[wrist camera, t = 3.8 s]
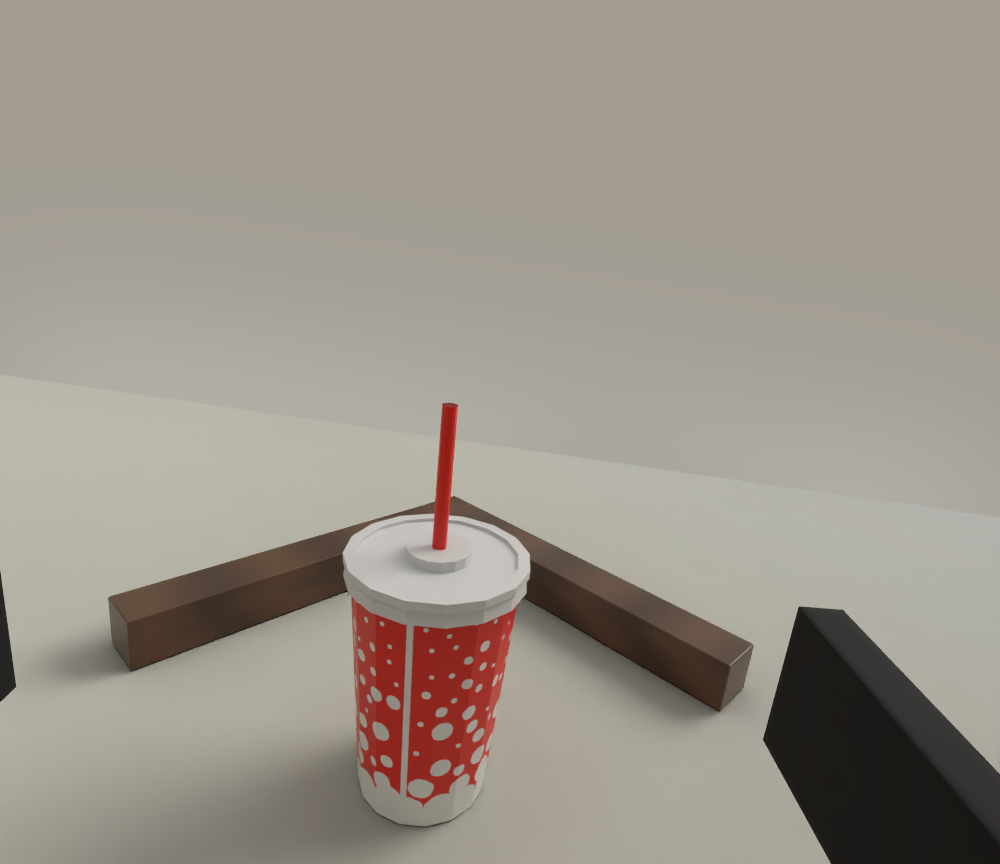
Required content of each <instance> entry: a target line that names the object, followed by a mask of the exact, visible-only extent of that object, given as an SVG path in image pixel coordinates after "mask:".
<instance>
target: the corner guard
mask: <svg viewBox="0 0 1000 864" xmlns="http://www.w3.org/2000/svg"><path fill="white" fill-rule="evenodd" d="M434 513H435V502H432V503H429V504H426V505H423V506H419V507H416V508H412V509H409V510H406V511H402V512H399V513H395V514H392V515H388V516H385V517H382V518H378V519H375V520H371V521H368V522H364V523H361V524H357V525H354V526H351V527H347V528H344V529H340V530H337V531H333V532H330V533H327V534H323V535H320V536H316V537H313V538H309V539H306V540H302V541H299V542H296V543H292V544H289V545H285V546H282V547H278V548H275V549H272V550H268V551H265V552H261V553H258V554H254V555H251V556H247V557H244V558H241V559H237V560H234V561H230V562H227V563H223V564H220V565H217V566H213V567H210V568H206V569H203V570H199V571H196V572H193V573H189V574H186V575H182V576H179V577H175V578H172V579H168V580H165V581H162V582H158V583H155V584H151V585H148V586H144V587H141V588H138V589H134V590H131V591H127V592H124V593H120V594H117V595H113V596H110V597H109V598H108V601H109V612H110V623H111V634H112V643H113V644H114V646H115V647H116V649H117V650H118V652H119V653H120V655H121V656H122V658H123V659H124V661H125V662H126V664H127V665H128V667H129V668H130V669H131V670H135V669H137V668H140V667H143V666H145V665H148V664H151V663H153V662H156V661H159V660H162V659H164V658H167V657H170V656H172V655H175V654H178V653H180V652H183V651H186V650H188V649H191V648H194V647H196V646H199V645H202V644H205V643H207V642H210V641H213V640H215V639H218V638H221V637H223V636H226V635H229V634H231V633H234V632H237V631H239V630H242V629H245V628H248V627H250V626H253V625H256V624H258V623H261V622H264V621H266V620H269V619H272V618H274V617H277V616H280V615H282V614H285V613H288V612H291V611H293V610H296V609H299V608H301V607H304V606H307V605H309V604H312V603H315V602H317V601H320V600H323V599H326V598H328V597H331V596H334V595H336V594H339V593H342V592H344V591H347V587H346V584H345V580H344V576H343V573H344V569H345V567H344V564H343V551H344V549H345V548H346V546H347V544H348V542H349V540H350V539H351V537H352V536H353V535H354V534H356V533H358V532H359V531H361V530H363V529H364V528H366V527H367V526H369V525H371V524H372V523H376V522H379V521H383V520H387V519H391V518H394V517H398V516H405V515H420V514H434ZM449 515H451V516H461V517H467V518H470V519H474V520H477V521H481V522H484V523H488V524H491V525H494V526H496V527H498V528H500V529H501V530H503V531H505V532H507V533H509V534H510V535H512V536H514V537H516V538H517V539H518V540H519V542H520V543H521V544H522V545H523V546H524V548H525V549H526V550H527V551H528V552H529V554H530V578H529V580H528V581H527V582H526V584H527V593H526V595H525V596H524V597H525V598H527V599H529V600H530V601H532V602H534V603H535V604H537V605H539V606H541V607H542V608H544V609H546V610H547V611H549V612H551V613H553V614H554V615H556V616H558V617H559V618H561V619H563V620H564V621H566V622H568V623H570V624H571V625H573V626H575V627H576V628H578V629H580V630H582V631H583V632H585V633H587V634H588V635H590V636H592V637H593V638H595V639H597V640H599V641H600V642H602V643H604V644H605V645H607V646H609V647H611V648H612V649H614V650H616V651H617V652H619V653H621V654H622V655H624V656H626V657H628V658H629V659H631V660H633V661H634V662H636V663H638V664H640V665H641V666H643V667H645V668H646V669H648V670H650V671H652V672H653V673H655V674H657V675H658V676H660V677H662V678H663V679H665V680H667V681H669V682H670V683H672V684H674V685H675V686H677V687H679V688H681V689H682V690H684V691H686V692H687V693H689V694H691V695H692V696H694V697H696V698H698V699H699V700H701V701H703V702H704V703H706V704H708V705H710V706H711V707H713V708H715V709H716V710H718V711H721V710H722V709H723V708H724V706H725V705H726V704H727V703H728V702H729V701H730V700H731V699H732V698H733V697H734V696H735V695H736V694H737V693H738V692H739V691H740V690H741V689H742V688H743V687H744V683H745V679H746V674H747V670H748V666H749V662H750V658H751V654H752V650H753V646H754V645H753V644H752V643H750V642H748V641H746V640H744V639H742V638H740V637H738V636H736V635H734V634H732V633H729V632H727V631H725V630H723V629H721V628H719V627H717V626H715V625H713V624H711V623H709V622H707V621H705V620H703V619H701V618H699V617H697V616H695V615H693V614H691V613H689V612H687V611H685V610H683V609H681V608H679V607H677V606H675V605H673V604H671V603H669V602H667V601H665V600H663V599H661V598H659V597H657V596H655V595H653V594H651V593H649V592H647V591H645V590H643V589H641V588H639V587H637V586H635V585H633V584H631V583H629V582H627V581H625V580H623V579H621V578H619V577H617V576H615V575H613V574H611V573H608V572H606V571H604V570H602V569H600V568H598V567H596V566H594V565H592V564H590V563H588V562H586V561H584V560H582V559H580V558H578V557H576V556H574V555H572V554H570V553H568V552H566V551H564V550H562V549H560V548H558V547H556V546H554V545H552V544H550V543H548V542H546V541H544V540H542V539H540V538H538V537H536V536H534V535H532V534H530V533H528V532H526V531H524V530H522V529H520V528H518V527H516V526H514V525H512V524H510V523H508V522H506V521H504V520H502V519H500V518H498V517H496V516H494V515H492V514H490V513H487V512H485V511H483V510H481V509H479V508H477V507H475V506H473V505H471V504H469V503H467V502H465V501H463V500H461V499H459V498H457V497H455V496H453V497H450V509H449Z"/></svg>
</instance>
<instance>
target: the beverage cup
mask: <svg viewBox="0 0 1000 864" xmlns="http://www.w3.org/2000/svg"><path fill="white" fill-rule="evenodd" d="M457 410H458V405H457V404H454V403H444V404H443V405H442V417H441V432H440V444H439V458H438V472H437V485H436V499H435V513H434V514H420V515H405V516H398V517H394V518H391V519H387V520H383V521H379V522H376V523H372V524H371V525H369V526H367V527H366V528H364V529H363V530H361V531H359V532H358V533H356V534H354V535H353V536H352V537H351V539H350V540H349V542H348V544H347V546H346V548H345V549H344V551H343V564H344V567H345V569H344V573H343V576H344V580H345V584H346V587H347V591H348V594H349V595H350V596H351V597H352V622H353V649H354V677H355V704H356V731H357V758H358V777H359V782H360V787H361V792H362V796H363V797H364V798H365V799H366V800H367V802H368V803H369V804H370V805H371V807H372V808H373V809H374V810H375V811H376V813H378V814H380V815H382V816H384V817H386V818H388V819H390V820H392V821H394V822H396V823H398V824H405V825H415V826H425V827H426V826H430V825H434V824H438V823H442V822H446V821H450V820H452V819H454V818H455V817H457V816H458V815H459V814H461V813H462V812H464V811H465V810H466V809H468V808H469V807H471V806H472V804H473V802H474V801H475V799H476V797H477V796H478V794H479V792H480V791H481V789H482V787H483V781H484V776H485V771H486V765H487V760H488V755H489V750H490V744H491V739H492V734H493V728H494V723H495V718H496V713H497V707H498V702H499V697H500V691H501V686H502V681H503V676H504V670H505V665H506V660H507V654H508V649H509V644H510V639H511V633H512V628H513V623H514V617H515V612H516V607H517V604H518V603H519V602H520V601H521V599H522V598H523V597H524V596H525V595H526V593H527V584H526V582H527V581H528V580H529V578H530V554H529V552H528V551H527V550H526V549H525V548H524V546H523V545H522V544H521V543H520V542H519V540H518V539H517V538H516V537H514V536H512V535H510V534H509V533H507V532H505V531H503V530H501V529H500V528H498V527H496V526H494V525H491V524H488V523H484V522H481V521H477V520H474V519H470V518H467V517H461V516H451V515H449V509H450V497H451V484H452V472H453V459H454V447H455V434H456V421H457Z"/></svg>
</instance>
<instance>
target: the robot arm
mask: <svg viewBox="0 0 1000 864" xmlns="http://www.w3.org/2000/svg"><path fill="white" fill-rule="evenodd" d="M15 687H16V682H15V675H14V668H13V661H12V653H11V646H10V639H9V632H8V624H7V617H6V610H5V602H4V595H3V588H2V581H1V573H0V702H1V701H2V700H3V699H4V698H5V697H6V696H7V695H8V694H9V693H10V692H11V691H12V690H13V689H14V688H15ZM763 741H764V742H765V744H766V746H767V748H768V750H769V751H770V753H771V755H772V757H773V759H774V761H775V762H776V764H777V766H778V768H779V770H780V772H781V773H782V775H783V777H784V779H785V781H786V782H787V784H788V786H789V788H790V790H791V792H792V793H793V795H794V797H795V799H796V801H797V802H798V804H799V806H800V808H801V810H802V812H803V813H804V815H805V817H806V819H807V821H808V822H809V824H810V826H811V828H812V830H813V832H814V833H815V835H816V837H817V839H818V841H819V843H820V844H821V846H822V848H823V850H824V852H825V853H826V855H827V857H828V859H829V861H830V863H831V864H1000V774H999V773H998V772H997V771H996V770H995V769H994V768H993V767H992V766H991V765H990V763H989V762H988V761H987V760H986V759H985V758H984V757H983V756H982V755H981V754H980V753H979V752H978V751H977V750H976V749H975V748H974V747H973V746H972V745H971V744H970V743H969V741H968V740H967V739H966V738H965V737H964V736H963V735H962V734H961V733H960V732H959V731H958V730H957V729H956V728H955V727H954V726H953V725H952V724H951V723H950V722H949V721H948V720H947V718H946V717H945V716H944V715H943V714H942V713H941V712H940V711H939V710H938V709H937V708H936V707H935V706H934V705H933V704H932V703H931V702H930V701H929V700H928V699H927V698H926V697H925V695H924V694H923V693H922V692H921V691H920V690H919V689H918V688H917V687H916V686H915V685H914V684H913V683H912V682H911V681H910V680H909V679H908V678H907V677H906V676H905V675H904V673H903V672H902V671H901V670H900V669H899V668H898V667H897V666H896V665H895V664H894V663H893V662H892V661H891V660H890V659H889V658H888V657H887V656H886V655H885V654H884V653H883V652H882V650H881V649H880V648H879V647H878V646H877V645H876V644H875V643H874V642H873V641H872V640H871V639H870V638H869V637H868V636H867V635H866V634H865V633H864V632H863V631H862V630H861V629H860V627H859V626H858V625H857V624H856V623H855V622H854V621H853V620H852V619H851V618H850V617H849V616H848V615H847V614H846V613H845V612H844V611H843V610H836V609H823V608H811V607H799V608H798V611H797V615H796V619H795V623H794V626H793V630H792V634H791V638H790V641H789V645H788V649H787V652H786V656H785V660H784V664H783V667H782V671H781V675H780V679H779V682H778V686H777V690H776V693H775V697H774V701H773V705H772V708H771V712H770V716H769V720H768V723H767V727H766V731H765V734H764V738H763Z"/></svg>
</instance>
